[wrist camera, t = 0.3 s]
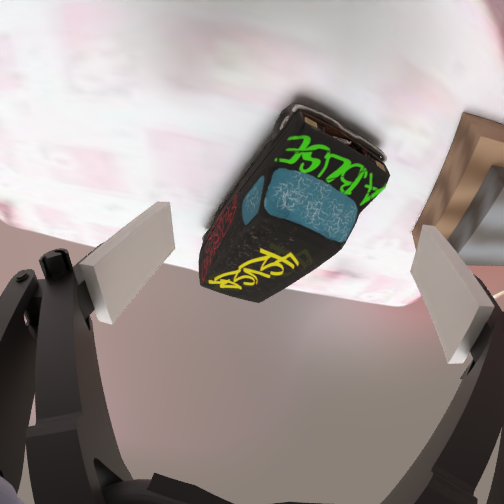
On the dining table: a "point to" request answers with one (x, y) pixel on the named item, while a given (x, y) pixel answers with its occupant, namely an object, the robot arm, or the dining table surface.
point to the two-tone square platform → (471, 194)
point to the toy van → (291, 206)
